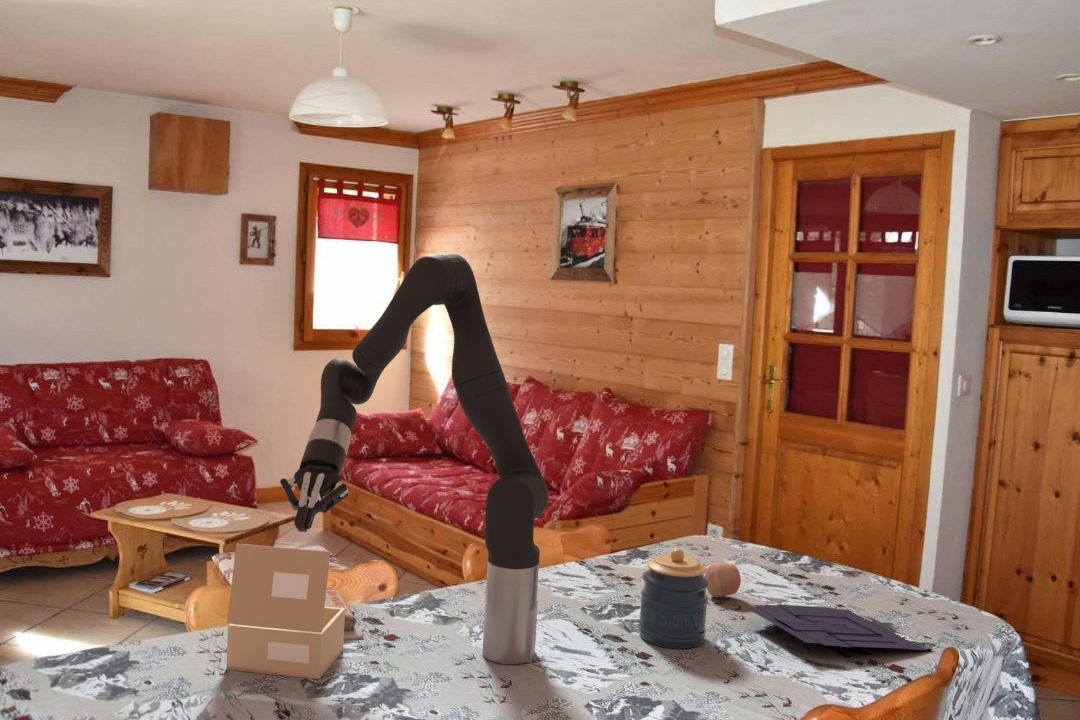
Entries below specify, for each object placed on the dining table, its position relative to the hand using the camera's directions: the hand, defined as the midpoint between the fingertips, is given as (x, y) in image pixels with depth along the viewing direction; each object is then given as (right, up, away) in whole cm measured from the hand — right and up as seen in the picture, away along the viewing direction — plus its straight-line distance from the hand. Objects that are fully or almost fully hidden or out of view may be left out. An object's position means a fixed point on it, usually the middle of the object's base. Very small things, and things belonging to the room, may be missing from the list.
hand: (301, 529), depth 172 cm
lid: (-1, -8, -9) cm, 12 cm away
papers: (+101, -26, +26) cm, 107 cm away
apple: (+82, -23, +46) cm, 97 cm away
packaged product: (+1, -21, +15) cm, 26 cm away
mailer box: (-2, -22, -3) cm, 22 cm away
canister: (+68, -25, +19) cm, 74 cm away
